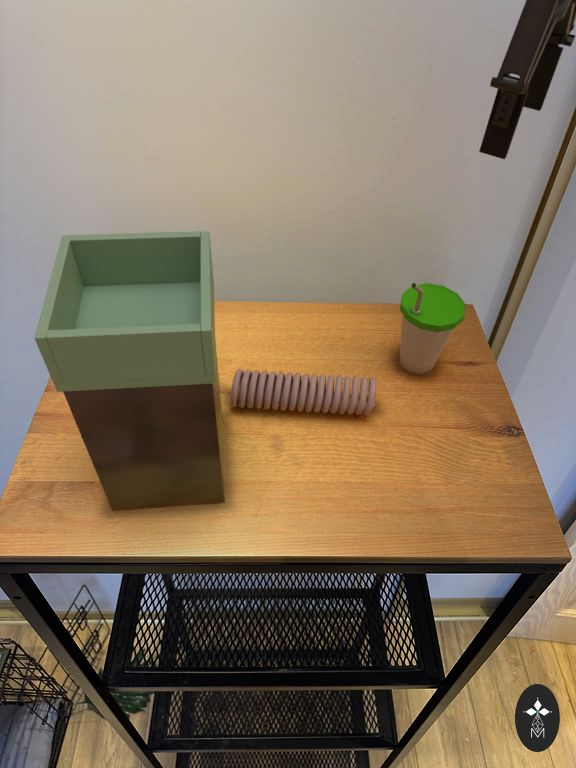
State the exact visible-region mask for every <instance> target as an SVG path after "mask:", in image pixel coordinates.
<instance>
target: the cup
mask: <svg viewBox="0 0 576 768" xmlns="http://www.w3.org/2000/svg"><path fill="white" fill-rule="evenodd" d="M399 311H400V312H401V314H402V317H401V318H402V319H401V334H400V346H399V347H400V348H399V361H398V362H399V363H398V364H400V366H401V368H402V369H403V370H404V371H406V372H407V373H409V374H412V375H416V376H417V375H418V376H420V375H421V376H422V375H426V374H429V373H430V372H431V371H432V370H433V369H434V367H435V365H436V363H437V361H438V360H439V358H440V357H441V354H442V352H443V351H444V349H445V348H446V346H447V343H448V342H449V340H450V338H451V336H452V335H453V333H454V331H455V329H456V328H457V327H458V326H459V325H460V324H461V323H463V321H464V320H465V317H466V303H465V301H464V300H463V299H462V297H461V296H460V295H459V293H458V292H456V291H455V290H452V289H450V288H448V287H446V286H444V285H442V284H441V285H440V284H434V283H429V282H425V283H420V284H417V283H415V282H413V283H411V286H410V287H409V288H407V289H406V290H405V291H404V292H402V295H401V300H400V306H399Z"/></svg>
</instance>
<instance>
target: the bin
mask: <svg viewBox="0 0 576 768" xmlns="http://www.w3.org/2000/svg"><path fill="white" fill-rule="evenodd" d="M210 234H211V233H210V231H209V230H204V231H199V230H195V231H167V232H166V231H165V232H134V233H133V232H130V233H128V232H127V233H100V234H99V233H97V234H67V235H65V234H64V235H61V237H60V240H59V241H60V242H59V245H58V249H57V253H56V256H55V261H54V263H53V268H52V272H51V274H50V279H49V282H48V286H47V289H46V294H45V297H44V301H43V305H42V308H41V312H40V315H39V319H38V323H37V327H36V331H35V335H34V341H35V343H36V346H37V348H38V351H39V352H40V356H41V357H42V360H43V362H44V364H45V366H46V369H47V372H48V374H49V376H50V379H51V381H52V383H53V385H54V388H55V391H56V392H57V393H58V392H59V393H60V392H62V393H63V391H82V390H100V389H119V388H138V387H156V386H175V385H194V384H212V383H216V351H217V350H216V351H215V339H216V313H215V282H214V279H215V278H214V269H213V267H214V266H213V258H212V246H211V235H210Z"/></svg>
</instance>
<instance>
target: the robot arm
mask: <svg viewBox="0 0 576 768" xmlns="http://www.w3.org/2000/svg"><path fill="white" fill-rule="evenodd" d="M575 22H576V0H525V2H524V5H523V8H522V10H521V13H520V15H519V18H518V21H517V24H516V26H515V29H514V31H513V34H512V37H511V39H510V42H509V45H508V47H507V51H506V52H505V55H504V58H503V60H502V63H501V66H500V68H499V70H498V73H497V76H496V77H495V76H492V77H491V80H490V83H489V87H491V88H494V89H497V90H496V95H495V97H494V101H493V105H492V107H491V110H490V115H489V117H488V121H487V125H486V127H485V130H484V134H483V136H482V137H483V138H482V141H481V143H480V144H481V145H480V148H479V151H478V152H479V153H481V154H485V155H487V156H491V157H495V158H497V159H498V158H499V159H501V160H505V159H506V158H507V156H508V153H509V151H510V148H511V145H512V141H513V140H514V139H513V138H514V136H515V133H516V130H517V127H518V125H519V121H520V118H521V115H522V112H523V109H524V108H527V109H531V110H535V111H538V112H540V111H541V110H542V109H543V106H544V102H545V100H546V97H547V94H548V92H549V89H550V86H551V83H552V81H553V78H554V76H555V73H556V70H557V68H558V65H559V61H560V59H561V56H562V53H563V50H564V47H563V46H566V47H572V46H573V43H574V40H575V38H576V34H572V31H574V28H575V25H576V24H575ZM560 45H561V46H560ZM511 74H512V75H511ZM513 75H514V76H513ZM515 75H516V76H515ZM517 76H518V77H517Z"/></svg>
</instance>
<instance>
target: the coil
mask: <svg viewBox="0 0 576 768" xmlns="http://www.w3.org/2000/svg"><path fill="white" fill-rule="evenodd" d="M351 384H352V385H351ZM376 392H377V380H376V378H375V377H370V378H369V379H368V377H366V376H362V377H361V378H360V377H358V376H353V377H352V378H351V376H349V375H346V376H345V377H344V380H343V376H342V375H337V376H336V378H335V376H334V375H333V374H329V375H328V376H326V374H320V375H319V377H318V374H317V373H312V374H311V375H310V374H309V373H306V372H304V373H303V375H302V374H301V372H296V373H295V374H294V373H292V372H291V371H287V373H286V374H285V372H284V371H279V372H276V371H274V370H271V371H270V372H268V370H262V371H261V372H260V370H259V369H255V370H253V371H252V370H251V369H245V370H243V369H241V368H238V369H237V370H236V371H235V373H234V376H233V380H232V385H231V391H230V407H232V408H236V407H237V405H238V406H239V407H240V408H245V406H247V408H248V409H252V408H254V407H255V408H256V409H258V410H259V409H261V408H262V407H263V408H264V409H265V410H270V408H272V410H275V411H276V410H278V408H280V410H281V411H285V410H287V409H288V410H289V411H291V412H292V411H295V409H296V410H297V411H298V412H303V411H304V410H305V412H307V413H309V412H311V411H313V412H314V413H320V411H321V413H323V414H327V413H328V412H330V413H331V414H335V413H336V414H337V412H338V414H340V415H343V414H345V413H346V414H347V415H353V414H355V415H356V416H361V415H362V414H363V415H364V416H370V415H371V413H372V411H373V410H376V401H375V400H376ZM367 395H368V396H367ZM254 404H255V405H254Z"/></svg>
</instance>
